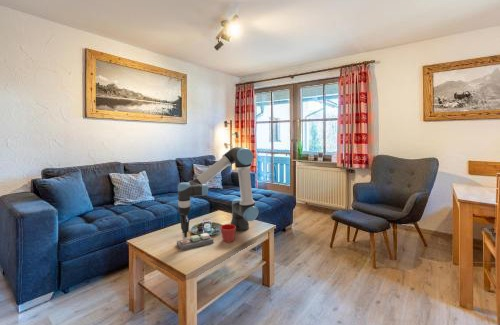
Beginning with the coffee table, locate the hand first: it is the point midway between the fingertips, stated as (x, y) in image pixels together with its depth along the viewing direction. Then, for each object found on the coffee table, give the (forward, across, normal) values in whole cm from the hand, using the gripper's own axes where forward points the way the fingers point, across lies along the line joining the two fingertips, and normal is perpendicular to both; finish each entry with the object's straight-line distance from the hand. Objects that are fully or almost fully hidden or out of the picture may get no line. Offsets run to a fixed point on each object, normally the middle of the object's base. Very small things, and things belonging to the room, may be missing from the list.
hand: (185, 241), depth 169 cm
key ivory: (+1, 0, +14) cm, 14 cm away
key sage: (+1, 0, +7) cm, 7 cm away
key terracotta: (+2, 0, 0) cm, 2 cm away
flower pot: (+4, +6, +29) cm, 30 cm away
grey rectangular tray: (+3, 0, +7) cm, 8 cm away
